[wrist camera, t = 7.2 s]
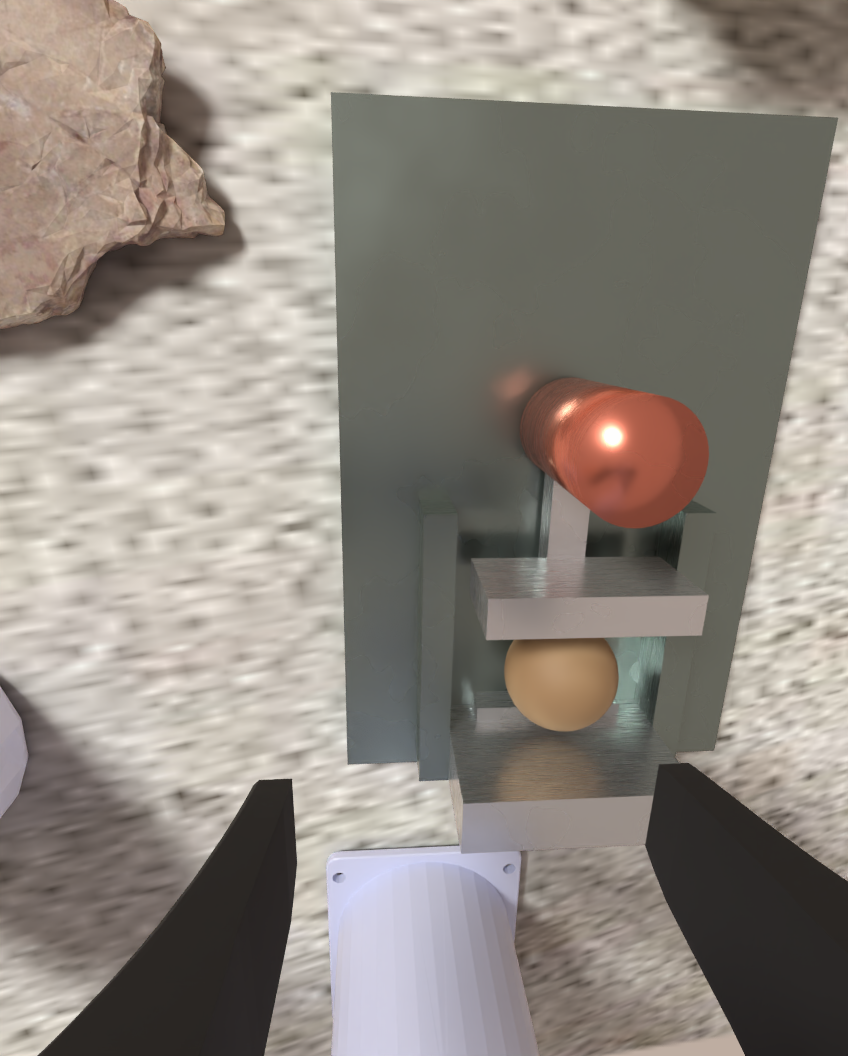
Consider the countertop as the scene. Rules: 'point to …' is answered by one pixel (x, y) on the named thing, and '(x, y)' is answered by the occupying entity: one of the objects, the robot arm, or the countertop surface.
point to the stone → (84, 152)
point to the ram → (615, 496)
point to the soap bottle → (10, 753)
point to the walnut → (561, 680)
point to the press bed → (507, 386)
